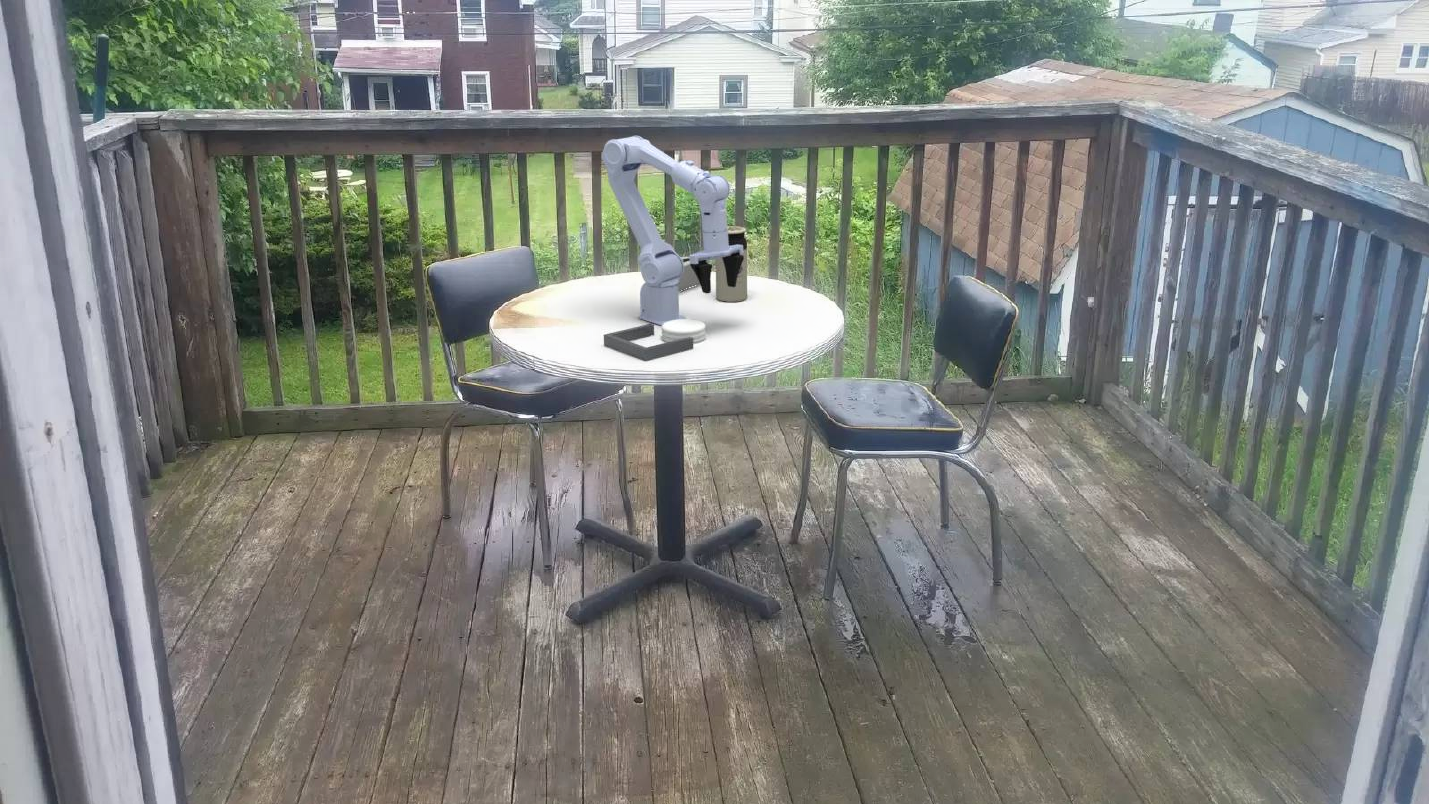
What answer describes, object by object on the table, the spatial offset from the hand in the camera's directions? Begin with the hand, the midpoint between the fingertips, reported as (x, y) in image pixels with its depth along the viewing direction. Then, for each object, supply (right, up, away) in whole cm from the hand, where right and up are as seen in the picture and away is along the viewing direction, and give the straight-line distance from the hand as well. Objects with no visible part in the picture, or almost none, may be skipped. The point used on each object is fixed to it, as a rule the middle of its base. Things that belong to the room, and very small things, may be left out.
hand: (719, 289), depth 257 cm
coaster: (-8, -12, -3) cm, 14 cm away
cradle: (-16, -14, -9) cm, 23 cm away
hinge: (-11, +3, +38) cm, 40 cm away
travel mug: (+3, +1, +30) cm, 30 cm away
